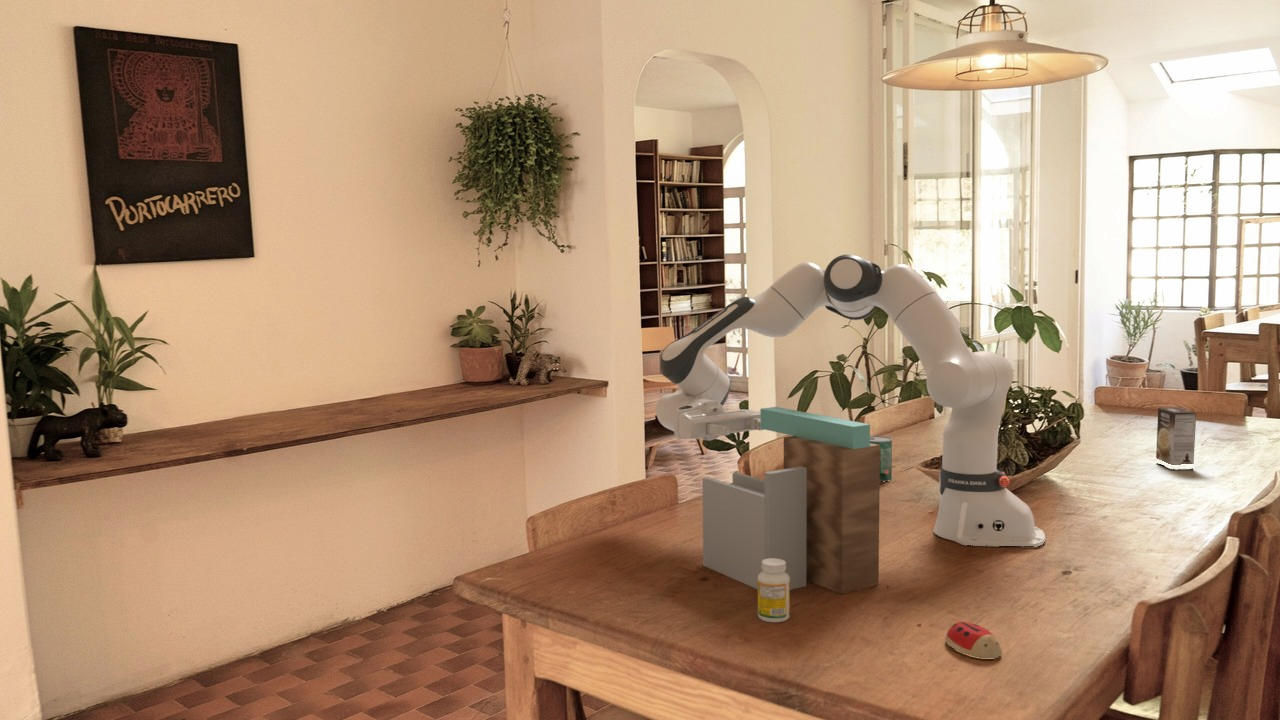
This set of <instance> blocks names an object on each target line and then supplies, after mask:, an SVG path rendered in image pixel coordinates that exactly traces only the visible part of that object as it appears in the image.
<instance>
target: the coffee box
mask: <svg viewBox="0 0 1280 720" xmlns="http://www.w3.org/2000/svg"><path fill="white" fill-rule="evenodd" d="M1196 422H1197V412H1195V411H1192V410H1189V409H1186V408H1183V407H1179V406H1178V407H1175V406H1174V407H1158V408H1157V424H1156V425H1157V428H1156V430H1157V431H1156V451H1155V452H1156V453H1155V459H1156V458H1157V459H1159V460H1162V461H1164V462H1166V463H1168V464H1171V465H1181V464H1195V463H1194V462H1195V446H1196V445H1195V443H1196V428H1197V427H1196V424H1197V423H1196Z"/></svg>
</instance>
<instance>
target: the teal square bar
mask: <svg viewBox="0 0 1280 720" xmlns="http://www.w3.org/2000/svg"><path fill="white" fill-rule="evenodd" d="M759 411H760V428H761V429H765V430H766V431H770V432H773V433H779V434H784V435H788V436H796V437H801V438H805V439H810V440H814V441H819V442H823V443H828V444H832V445H837V446H841V447H846V448H850V449H857V448H864V447H870V436H871V424H870V423H865V422H861V421H854V420H849V419H843V418H837V417H833V416H827V415H822V414H817V413H811V412H805V411H801V410H796V409H795V410H794V409H791V408H784V407H779V406H771V407H764V408H760V410H759Z"/></svg>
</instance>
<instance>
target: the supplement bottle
mask: <svg viewBox="0 0 1280 720" xmlns="http://www.w3.org/2000/svg"><path fill="white" fill-rule="evenodd" d="M762 570H763V572H761V573H760V574H759V575H758V589H757V616H758V618H759V619H760V620H761V621H763V622H768V623H783V622H786V621H787V620H788V619H789V618H790V615H791V614H790V613H791V612H790V608H791V604H790V601H791V597H790V596H791V594H790V593H791V590H790V577H789V575H788V574H787V573H785V570H786V562H785V561H784V560H782V559H777V558H768V559H764V560H762Z"/></svg>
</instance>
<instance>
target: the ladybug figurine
mask: <svg viewBox="0 0 1280 720" xmlns="http://www.w3.org/2000/svg"><path fill="white" fill-rule="evenodd" d="M945 642H947V643H946V644H947V646H948V647H950V646H951V647H952V648H954V649H956V650H958V651H960V652H962V653H965V654H968V655H971V656H975V657H979V658H997V657H999V656H1000V657H1001V656H1002V653H1003V649H1002V646H1001V644H1000V642H999V640H998V638H997V637H996V636H995V635H994V634H993V633H992V632H991V631H990V630H988V629H986V628H984V627H982V626H981V625H979V624H975V623H973V622H972V623H971V622H966V621H959V622H956V623H954V624H952V625H951V626H950V628H949V629H948V630H947V633H946V635H945ZM951 647H950V648H951ZM952 648H951V649H952ZM954 649H953V650H954ZM1000 657H999V658H1000ZM997 659H998V658H997Z"/></svg>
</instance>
